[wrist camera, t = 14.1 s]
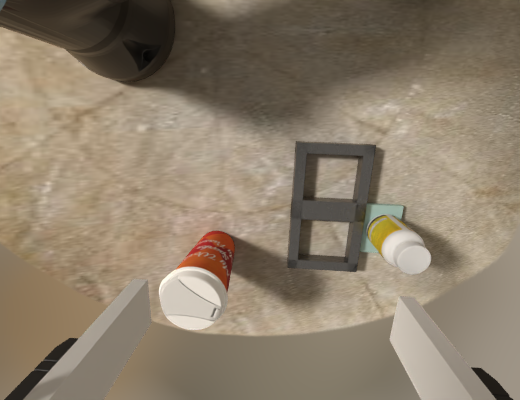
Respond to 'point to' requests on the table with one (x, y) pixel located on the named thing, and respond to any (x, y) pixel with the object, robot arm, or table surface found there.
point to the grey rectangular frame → (330, 206)
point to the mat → (372, 212)
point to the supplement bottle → (398, 244)
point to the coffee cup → (199, 283)
